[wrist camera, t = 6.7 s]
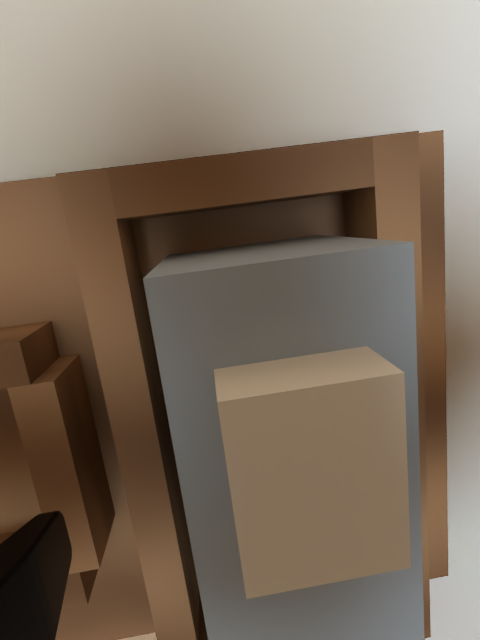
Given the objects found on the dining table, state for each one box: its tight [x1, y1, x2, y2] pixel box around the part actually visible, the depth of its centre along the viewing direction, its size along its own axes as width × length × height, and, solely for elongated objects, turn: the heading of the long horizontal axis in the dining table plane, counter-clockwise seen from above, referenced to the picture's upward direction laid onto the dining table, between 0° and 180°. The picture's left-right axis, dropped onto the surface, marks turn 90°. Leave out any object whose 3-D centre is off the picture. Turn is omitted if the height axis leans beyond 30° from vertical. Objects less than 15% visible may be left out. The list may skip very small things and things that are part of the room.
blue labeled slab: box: [143, 235, 425, 640], centre depth 9 cm, size 10×4×6 cm, turn 7°
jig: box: [0, 130, 448, 640], centre depth 11 cm, size 14×20×3 cm
